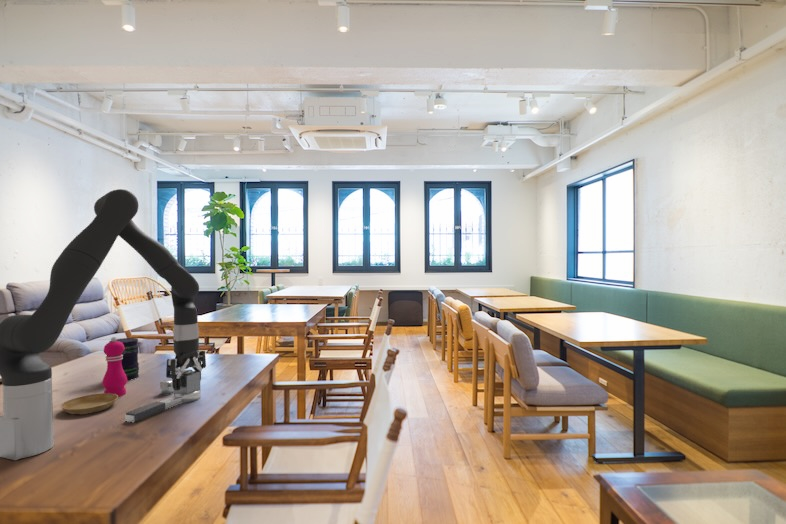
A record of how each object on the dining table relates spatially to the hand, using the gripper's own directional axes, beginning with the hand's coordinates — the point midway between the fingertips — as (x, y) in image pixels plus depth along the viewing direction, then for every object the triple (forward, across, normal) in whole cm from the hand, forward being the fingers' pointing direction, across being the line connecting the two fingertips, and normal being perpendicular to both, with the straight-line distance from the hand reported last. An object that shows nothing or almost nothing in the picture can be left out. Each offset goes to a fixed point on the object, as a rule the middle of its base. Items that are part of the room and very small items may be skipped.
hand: (187, 386), depth 142 cm
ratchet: (+4, +8, 0) cm, 10 cm away
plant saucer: (+5, +16, -23) cm, 28 cm away
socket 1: (+4, -3, -12) cm, 13 cm away
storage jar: (+4, -12, -44) cm, 46 cm away
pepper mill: (+4, +4, -28) cm, 29 cm away
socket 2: (+2, 0, 0) cm, 2 cm away
